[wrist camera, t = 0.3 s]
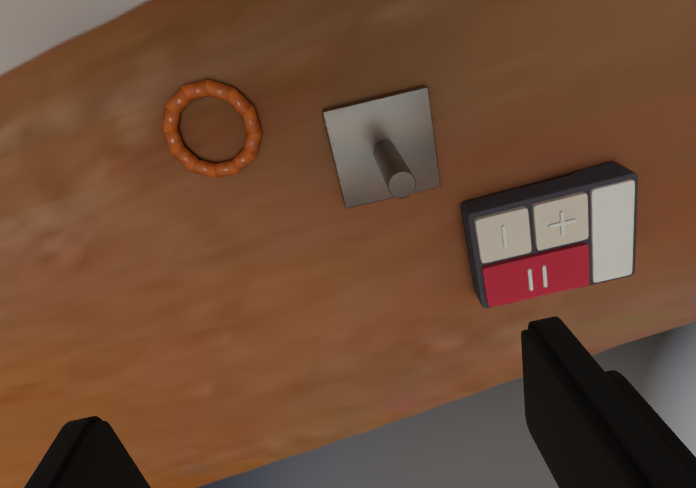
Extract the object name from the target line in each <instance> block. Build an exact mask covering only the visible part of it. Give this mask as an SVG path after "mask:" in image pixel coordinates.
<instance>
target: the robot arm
mask: <svg viewBox="0 0 696 488" xmlns="http://www.w3.org/2000/svg"><path fill="white" fill-rule="evenodd" d="M521 342H522V361H523V380H524V399H525V416H526V422H527V426H528V429H529V431H530V433H531V435H532V437H533V439H534V441H535V443H536V444H537V447H538V449H539V450H540V452H541V454H542V456H543V458H544V460H545V462H546V464H547V466H548V468H549V469H550V471H551V473H552V475H553V477H554V479H555V481H556V482H557V484H558V486H559V488H696V457H695V456H694V455H693V454H692V453H691V451H690V450H689V449H688V448H687V447H686V446H685V445H684V444H683V442H682V441H681V440H680V439H679V438H678V437H677V436H676V435H675V433H674V432H673V431H672V430H671V429H670V428H669V427H668V425H667V424H666V423H665V422H664V421H663V420H662V419H661V418H660V417H659V415H658V414H657V413H656V412H655V411H654V410H653V409H652V407H651V406H650V405H649V404H648V403H647V402H646V401H645V400H644V398H643V397H642V396H641V395H640V394H639V393H638V392H637V390H636V389H635V388H634V387H633V386H632V385H631V384H630V383H629V382H628V380H627V379H626V378H625V377H624V376H623V375H622V374H620V373H619V372H617V371H615V370H613V371H606V372H605V371H604V370H603V369H602V368H601V367H600V366H599V364H598V363H597V362H596V361H595V360H594V359H593V357H592V356H591V355H590V354H589V352H588V351H587V350H586V349H585V348H584V347H583V345H582V344H581V343H580V342H579V341H578V339H577V338H576V337H575V336H574V335H573V333H572V332H571V331H570V330H569V329H568V327H567V326H566V325H565V324H564V323H563V322H562V320H561V319H560V318H558V317H556V316H555V317H550V318H546V319H541V320H536V321H532V322H529V325H528V329H527V330H523V331H522V332H521ZM24 488H150V486H149V485H148V483H147V481H146V480H145V478H144V477H143V475H142V474H141V472H140V471H139V469H138V468H137V466H136V464H135V463H134V461H133V460H132V458H131V457H130V455H129V454H128V452H127V451H126V449H125V447H124V446H123V444H122V443H121V441H120V440H119V438H118V437H117V435H116V434H115V432H114V431H113V429H112V427H111V426H110V424H109V423H108V422H106V421H102V420H101V419H100V418H99V417H97V416H92V417H88V418H83V419H78V420H74V421H69V422H68V423H66V424H65V425H64V426H63V427H62V429H61V430H60V432H59V434H58V435H57V437H56V438H55V440H54V441H53V443H52V445H51V446H50V448H49V449H48V451H47V452H46V454H45V456H44V457H43V459H42V460H41V462H40V464H39V465H38V467H37V468H36V470H35V471H34V473H33V475H32V476H31V478H30V479H29V481H28V483H27V484H26V486H25V487H24Z"/></svg>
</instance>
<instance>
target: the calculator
mask: <svg viewBox="0 0 696 488" xmlns="http://www.w3.org/2000/svg"><path fill="white" fill-rule="evenodd" d="M637 186H638V176H637V174H636V173H634V172H633V171H631V170H629V169H627V168H625V167H623V166H622V165H620V164H618V163H616V162H609V163H605V164H601V165H597V166H593V167H589V168H585V169H581V170H578V171H575V172H574V173H572V174H571V175H569V176H565V177H561V178H557V179H553V180H549V181H545V182H541V183H537V184H533V185H529V186H525V187H521V188H517V189H513V190H509V191H505V192H501V193H497V194H493V195H489V196H485V197H481V198H477V199H473V200H469V201H466V202H463V203H462V204H461V212H462V218H463V224H464V230H465V236H466V242H467V248H468V254H469V260H470V265H471V271H472V277H473V283H474V289H475V293H476V295H477V297H478V299H479V301H480V303H481V305H482V307H483V308H490V307H495V306H499V305H504V304H508V303H512V302H517V301H521V300H526V299H530V298H535V297H539V296H544V295H548V294H553V293H557V292H562V291H566V290H570V289H575V288H579V287H584V286H588V285H593V284H597V283H602V282H606V281H611V280H615V279H620V278H624V277H628V276H631V275H633V274H634V272H635V247H636V217H637Z"/></svg>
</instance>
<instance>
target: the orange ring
mask: <svg viewBox="0 0 696 488" xmlns="http://www.w3.org/2000/svg"><path fill="white" fill-rule="evenodd" d="M205 96H212V97H215V98H218V99H222V100H225V101H228V102H229V103H230V104H231V105H232V106H233V107H234V108H235V109H236V110H237V111H238V112H239V113H240V114H241V116H242V119H243V122H244V125H245V128H246V131H247V135H246V139H245V144H244V148H243V150H242V151H241V152H240V153H239V154H238V155H237V156H236V157H235V158H234V159H233V160H231V161H226V162H222V163H218V164H214V163H210V162H207V161H203V160H199V159H198V158H197V157H195V156H194V155H193V154H192V153H191V152H190V151H189V150H188V149H186V148H185V147H184V144H183V142H182V139H181V137H180V134H179V132H178V124H179V117H180V112H181V111H182V110H183V109H184V108H185V107H186V105H187V104H188V103H189V102H190V101H191V100H193V99H197V98H201V97H205ZM162 131H163V134H164V136H165V139H166V141H167V144H168V146H169V148H170V151H171V153H172V155H173V156H174V157H176V158H177V159H178V160H179V161H180V162H181V163H182V164H184V165H185V166H186V167H187V168H188V169H189V170H190V171H192V172H195V173H199V174H202V175H206V176H210V177H214V178H219V177H223V176H228V175H232V174H236V173H239V172H241V171H242V170H243V169H244V168H245V167H246V166H247V165H248V164H249V163H250V162H251V161H252V160H253V159H254V158H255V157H256V155H257V151H258V147H259V142H260V138H261V128H260V125H259V122H258V119H257V115H256V112H255V109H254V107H253V106H252V105H251V104H250V103H249V102H248V101H247V100H246V99H245V98H244V97H243V96H242V95H241V94H240V93H239V92H238V91H237V90H236V89H235V88H234V87H231V86H227V85H224V84H221V83H218V82H215V81H211V80H204V81H200V82H196V83H191V84H187V85H184V86H182V87H181V88H180V89H179V90H178V91H177V92H176V93H175V94H174V96H173V97H172V98H171V99H170V100H169V101H168V102H167V103H166V105H165V111H164V118H163V126H162Z"/></svg>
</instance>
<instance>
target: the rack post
mask: <svg viewBox="0 0 696 488" xmlns="http://www.w3.org/2000/svg"><path fill="white" fill-rule="evenodd" d="M323 116H324V120H325V124H326V128H327V132H328V137H329V141H330V145H331V149H332V153H333V157H334V162H335V166H336V170H337V174H338V178H339V182H340V187H341V191H342V195H343V199H344V203H345V208H350V207H354V206H359V205H363V204H368V203H372V202H376V201H381V200H385V199H389V198H394V197H396V198H406V197H408V196H410V195H411V194H412V193H416V192H420V191H424V190H429V189H433V188H438V187H441V185H440V177H439V169H438V162H437V154H436V146H435V138H434V131H433V123H432V115H431V107H430V100H429V92H428V87H427V86H421V87H417V88H413V89H408V90H404V91H400V92H396V93H392V94H387V95H383V96H379V97H375V98H371V99H366V100H362V101H358V102H354V103H350V104H345V105H341V106H337V107H333V108H329V109H324V110H323Z"/></svg>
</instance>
